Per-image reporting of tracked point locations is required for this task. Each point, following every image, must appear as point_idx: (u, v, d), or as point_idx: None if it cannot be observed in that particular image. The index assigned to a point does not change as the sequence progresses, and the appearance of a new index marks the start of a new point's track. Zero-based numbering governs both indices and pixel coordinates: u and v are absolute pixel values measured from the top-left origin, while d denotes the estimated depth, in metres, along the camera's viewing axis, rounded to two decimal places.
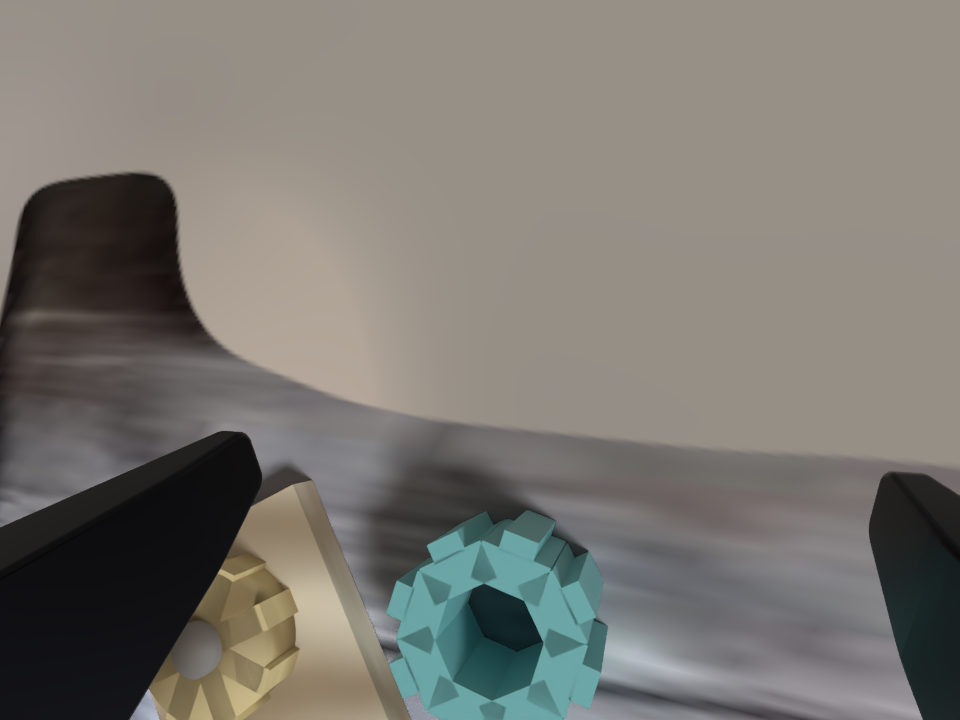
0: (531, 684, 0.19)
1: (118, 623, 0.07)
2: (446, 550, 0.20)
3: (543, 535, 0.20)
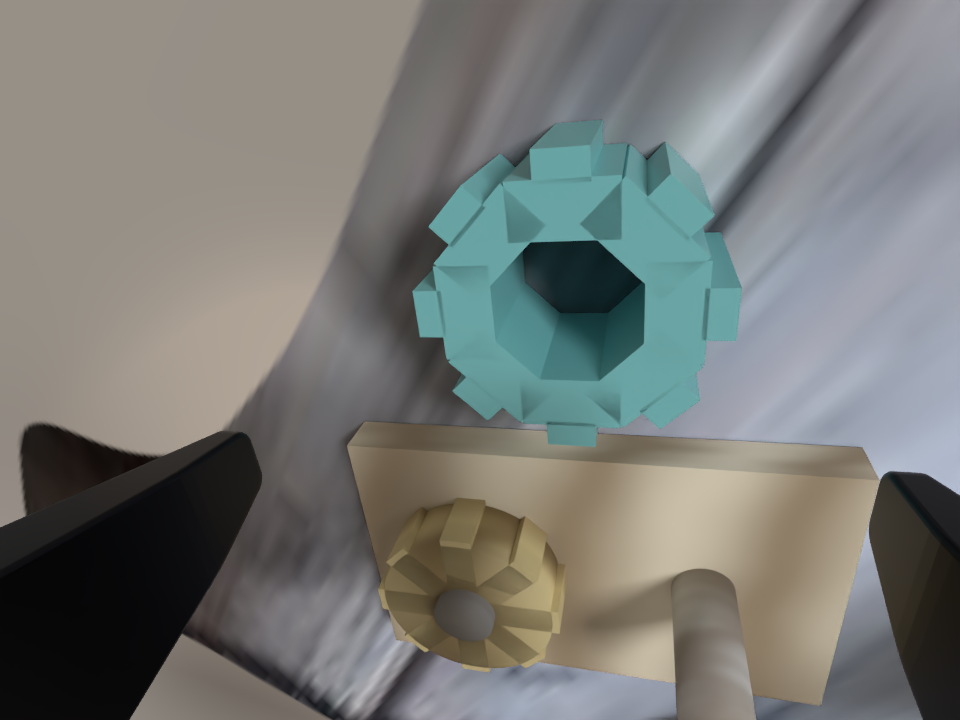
0: (645, 282, 0.13)
1: (118, 623, 0.07)
2: (433, 315, 0.14)
3: (473, 175, 0.14)
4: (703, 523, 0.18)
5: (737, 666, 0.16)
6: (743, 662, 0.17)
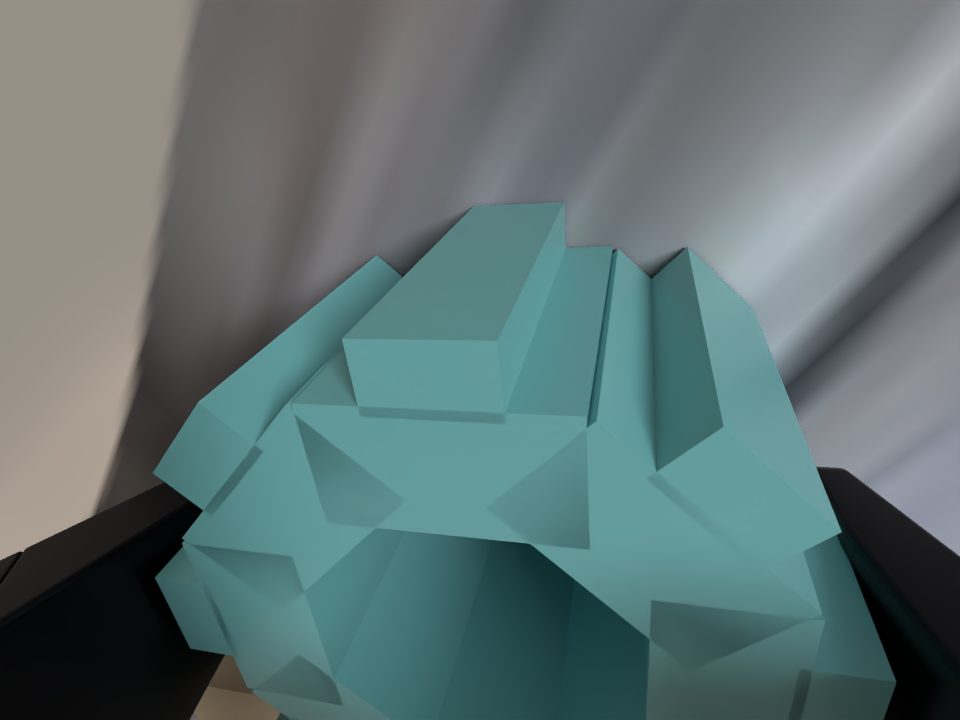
0: (650, 633, 0.05)
1: (174, 632, 0.07)
2: (205, 620, 0.07)
3: (270, 343, 0.06)
4: None
5: None
6: None
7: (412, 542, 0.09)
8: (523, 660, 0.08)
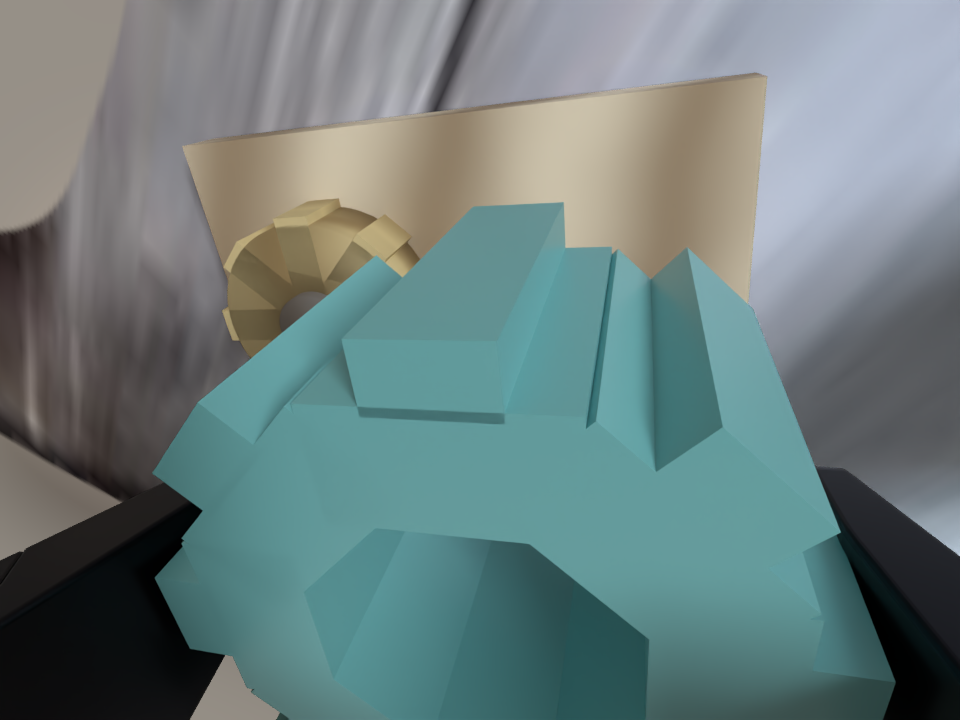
0: (649, 633, 0.05)
1: (174, 632, 0.07)
2: (205, 620, 0.07)
3: (270, 343, 0.06)
4: (578, 185, 0.16)
5: None
6: None
7: (412, 542, 0.09)
8: (523, 660, 0.08)
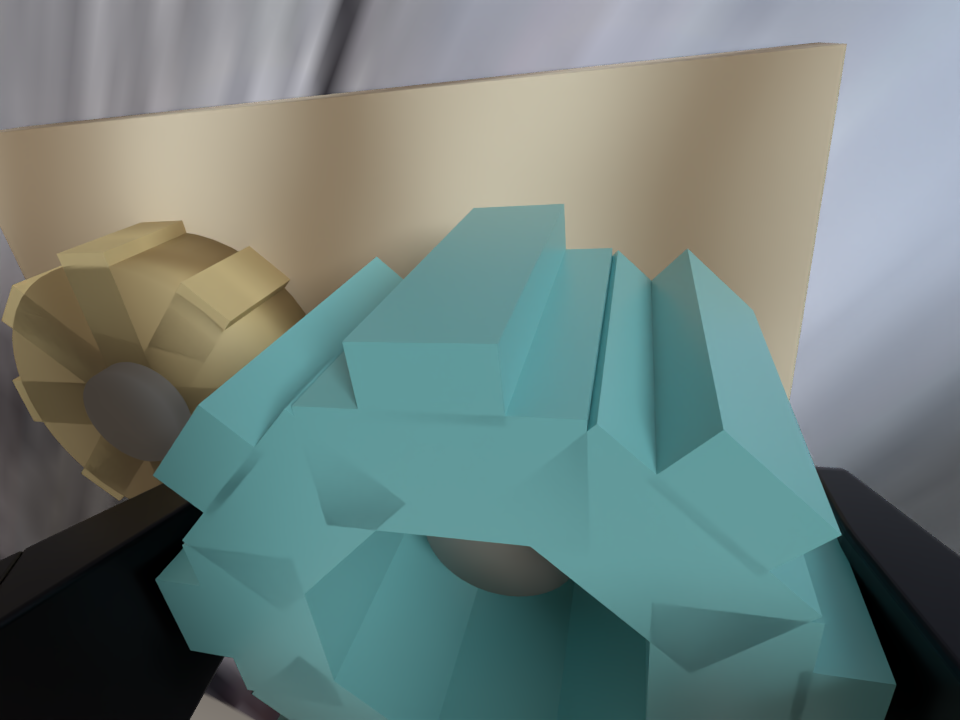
0: (650, 635, 0.05)
1: (174, 632, 0.07)
2: (205, 622, 0.07)
3: (271, 345, 0.06)
4: None
5: None
6: None
7: (412, 544, 0.09)
8: (523, 662, 0.08)
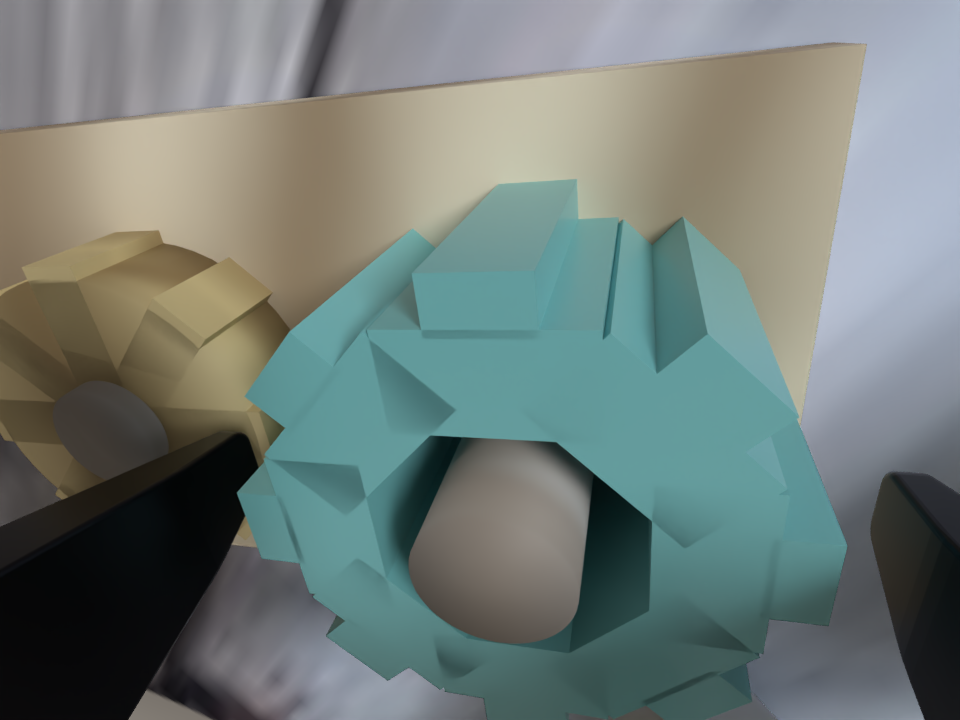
0: (652, 517, 0.06)
1: (117, 622, 0.07)
2: (277, 530, 0.08)
3: (336, 293, 0.07)
4: None
5: (554, 463, 0.07)
6: (574, 462, 0.08)
7: None
8: None
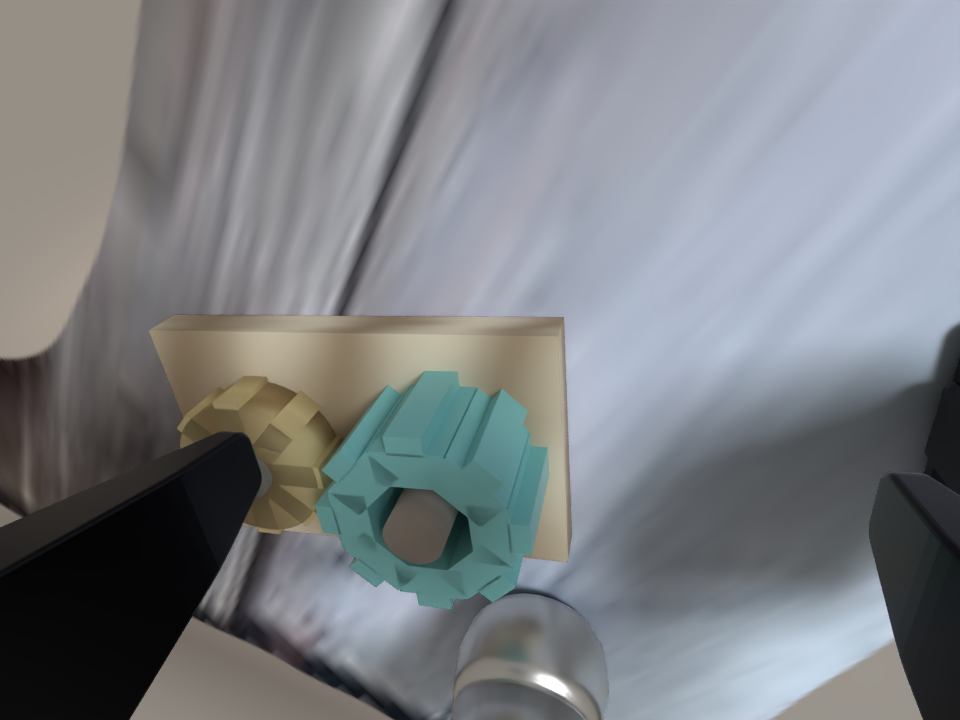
0: (468, 516, 0.18)
1: (118, 623, 0.07)
2: (330, 521, 0.20)
3: (355, 429, 0.19)
4: None
5: (439, 495, 0.19)
6: None
7: None
8: None
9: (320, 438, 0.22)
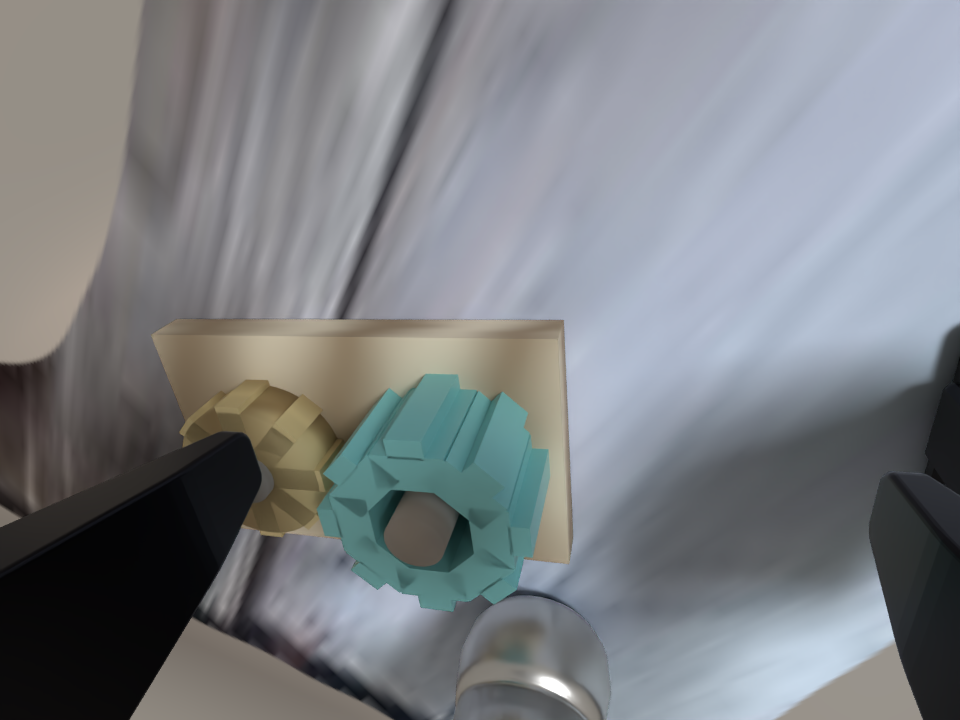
0: (469, 518, 0.18)
1: (118, 623, 0.07)
2: (332, 524, 0.20)
3: (356, 432, 0.19)
4: None
5: (440, 498, 0.19)
6: None
7: None
8: None
9: (322, 441, 0.23)
